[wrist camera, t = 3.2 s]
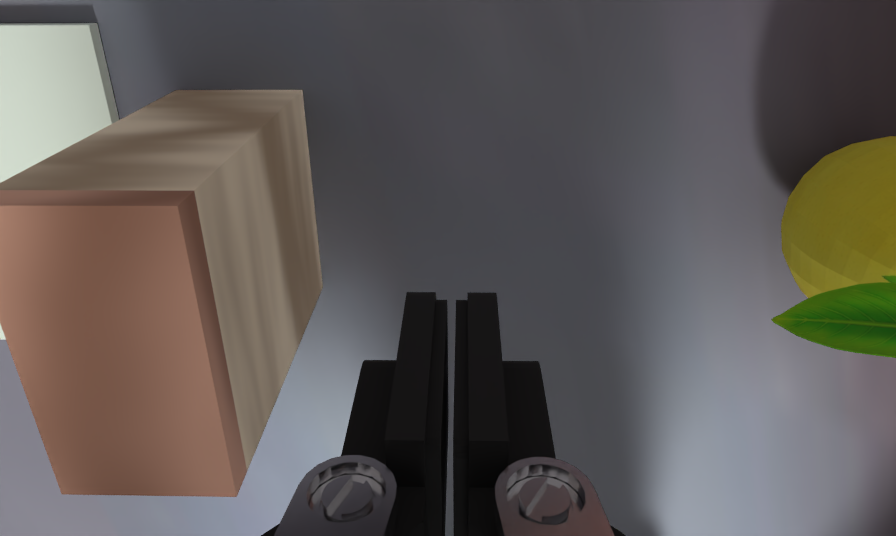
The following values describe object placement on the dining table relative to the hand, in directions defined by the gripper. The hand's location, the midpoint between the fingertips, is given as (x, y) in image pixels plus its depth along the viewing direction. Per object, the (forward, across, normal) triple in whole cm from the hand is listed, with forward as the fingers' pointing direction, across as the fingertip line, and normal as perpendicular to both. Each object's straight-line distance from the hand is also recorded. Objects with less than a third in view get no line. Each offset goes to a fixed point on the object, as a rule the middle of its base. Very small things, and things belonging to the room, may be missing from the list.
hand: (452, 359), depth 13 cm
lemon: (+11, -12, +1) cm, 16 cm away
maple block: (+10, +7, +1) cm, 13 cm away
